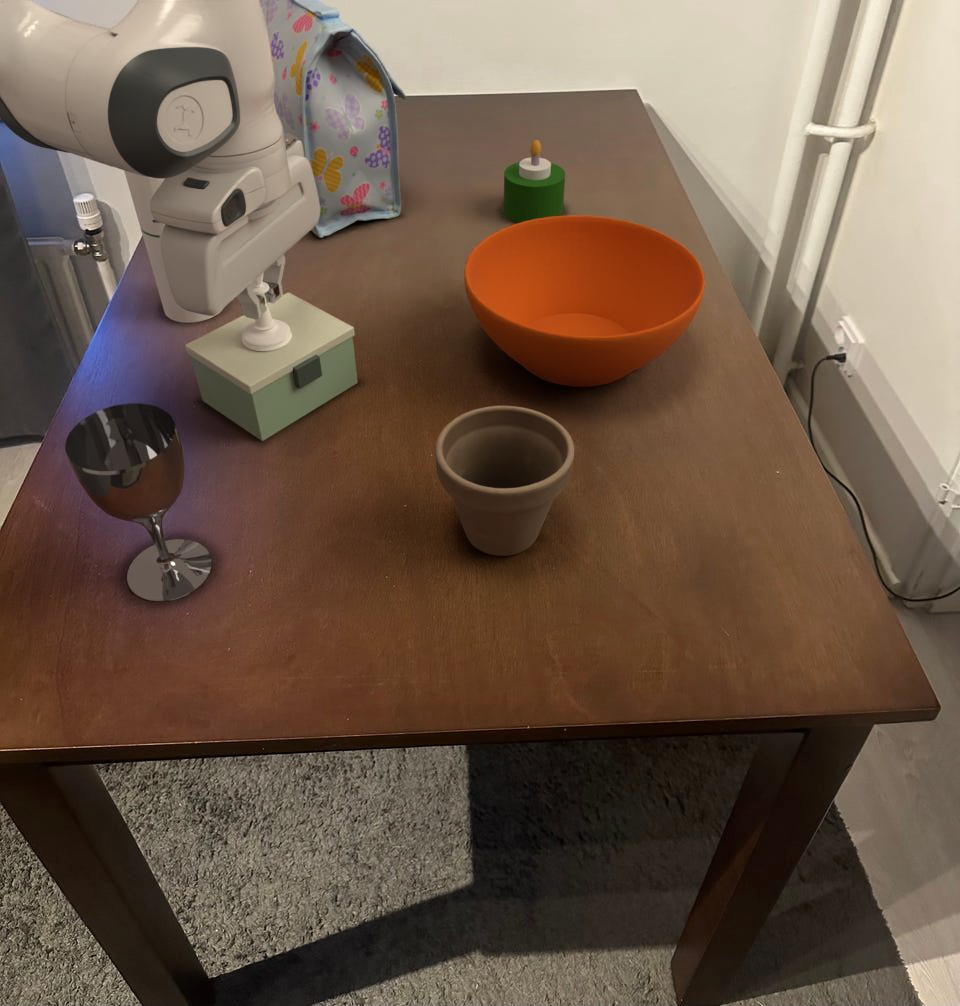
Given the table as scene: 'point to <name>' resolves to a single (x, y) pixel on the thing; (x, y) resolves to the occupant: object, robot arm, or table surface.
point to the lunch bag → (336, 110)
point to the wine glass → (140, 491)
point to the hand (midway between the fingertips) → (264, 306)
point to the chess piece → (265, 327)
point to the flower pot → (503, 473)
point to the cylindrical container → (156, 244)
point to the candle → (533, 188)
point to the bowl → (583, 295)
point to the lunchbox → (275, 368)
